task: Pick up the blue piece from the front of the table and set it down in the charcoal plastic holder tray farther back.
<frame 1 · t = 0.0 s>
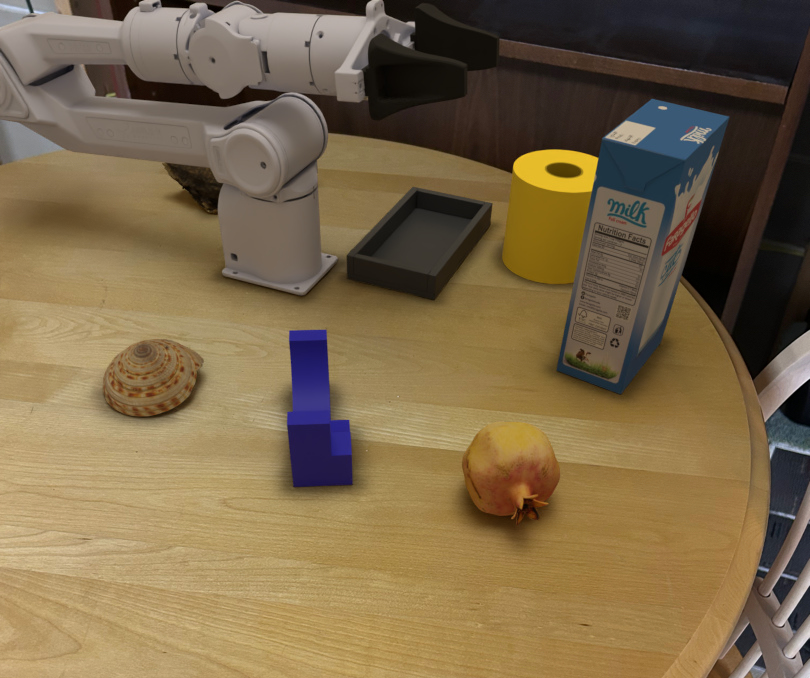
hand: (482, 65, 62), 22 cm above the table, tool horizontal, fingers open, 7 cm apart
seashell: (155, 387, 69), on the table
yellow toilet paper roll: (548, 261, 86), on the table
fruit: (505, 501, 61), on the table
milk carton: (609, 358, 74), on the table
blue piece: (322, 437, 65), on the table
holder: (422, 250, 86), on the table
seashell 2: (242, 197, 94), on the table
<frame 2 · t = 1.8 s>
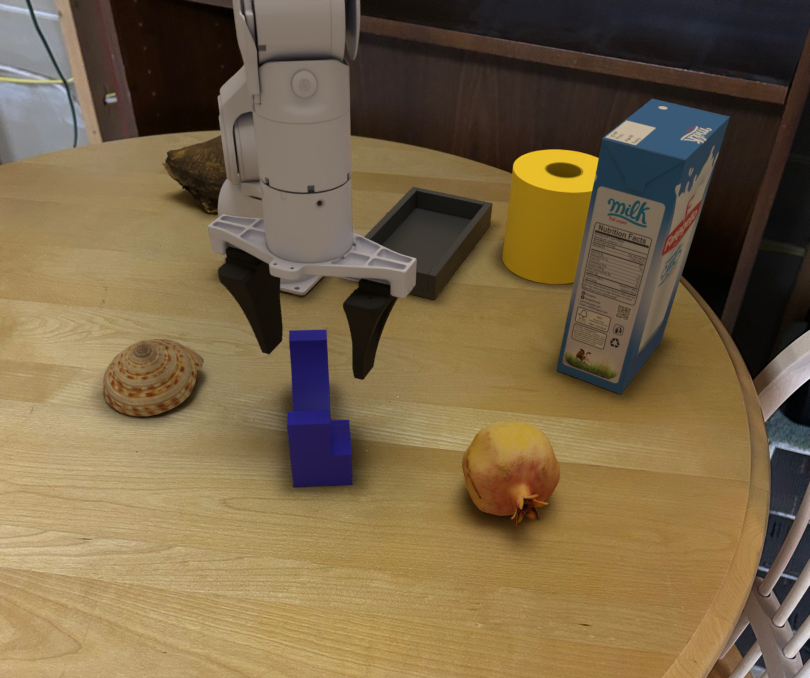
hand: (317, 359, 60), 7 cm above the table, tool pointing down, fingers open, 7 cm apart
nothing on the table moved.
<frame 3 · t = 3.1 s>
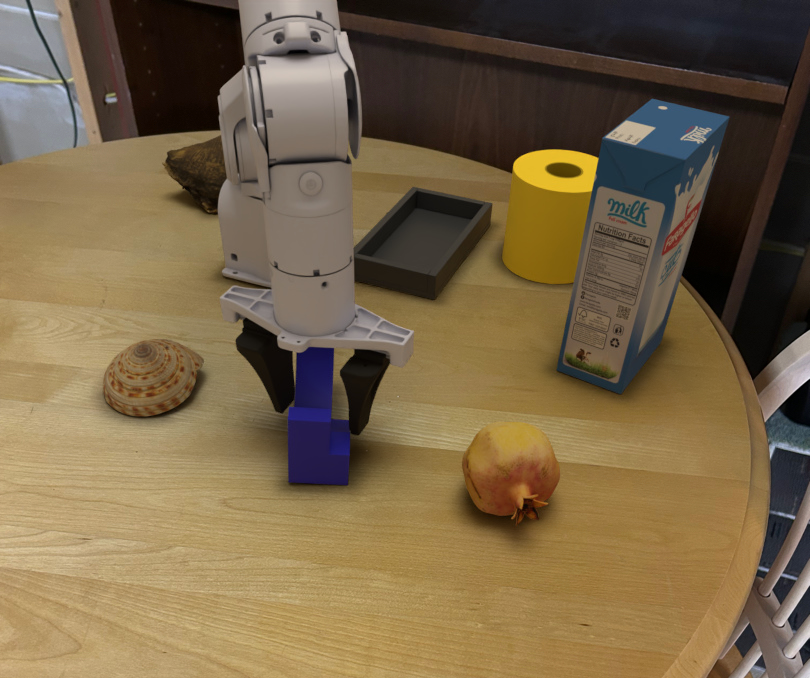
hand: (321, 416, 64), 2 cm above the table, tool pointing down, fingers closed on blue piece, 6 cm apart
blue piece: (321, 434, 65), on the table, touching gripper
everything else where it was.
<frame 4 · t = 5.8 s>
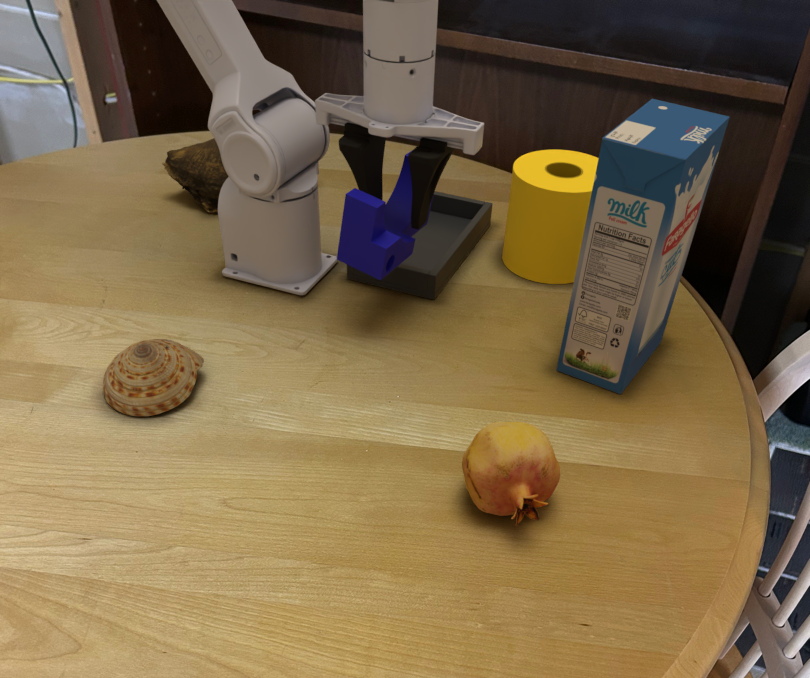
hand: (395, 219, 73), 8 cm above the table, tool pointing down, fingers closed on blue piece, 4 cm apart
blue piece: (390, 246, 74), point 6 cm above the table, touching gripper
everything else where it was.
when the fingers open (3 cm above the table, at t = 8.5 s): blue piece stays where it is, resting on holder.
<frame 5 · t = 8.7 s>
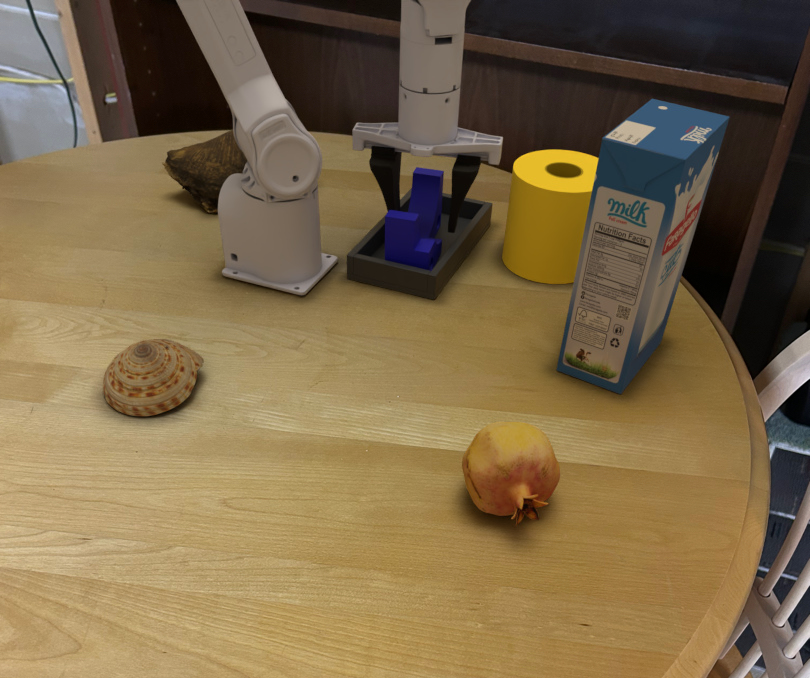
hand: (423, 225, 84), 3 cm above the table, tool pointing down, fingers open, 5 cm apart
blue piece: (420, 251, 86), resting on holder
everything else where it was.
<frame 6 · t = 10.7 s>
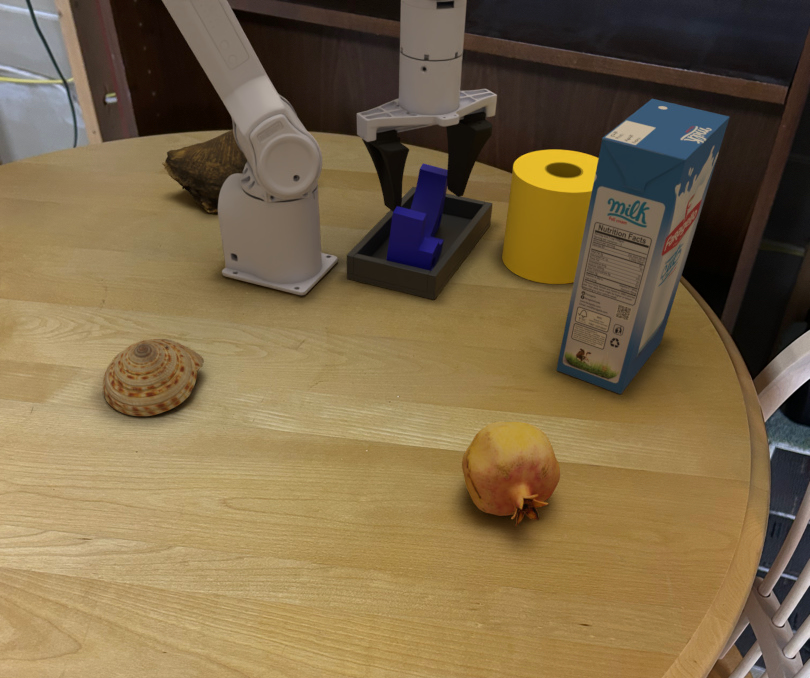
hand: (424, 200, 82), 6 cm above the table, tool pointing down
blue piece: (420, 249, 85), point 1 cm above the table, touching gripper
everything else where it was.
when the fingers open (7 cm above the table, at t = 12.0 s): blue piece stays where it is, resting on holder.
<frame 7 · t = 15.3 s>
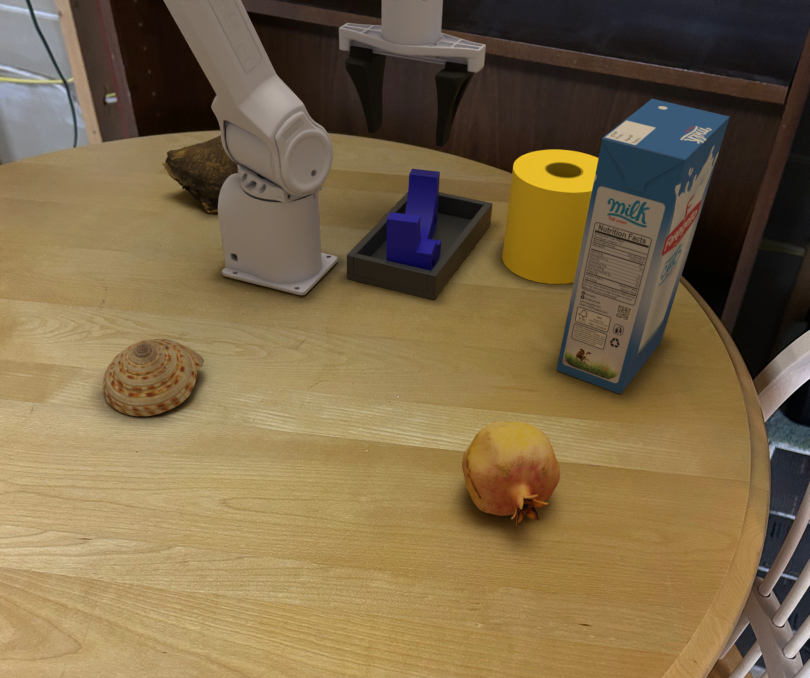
hand: (408, 136, 84), 9 cm above the table, tool pointing down, fingers open, 7 cm apart
blue piece: (419, 253, 85), resting on holder
everything else where it was.
at the end: blue piece inside the target area in the holder (1.4 cm from its centre), point 0.4 cm above the holder's base; the gripper is holding nothing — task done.
